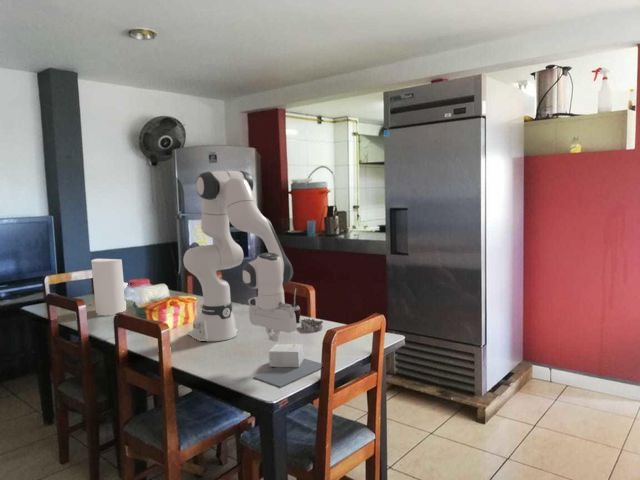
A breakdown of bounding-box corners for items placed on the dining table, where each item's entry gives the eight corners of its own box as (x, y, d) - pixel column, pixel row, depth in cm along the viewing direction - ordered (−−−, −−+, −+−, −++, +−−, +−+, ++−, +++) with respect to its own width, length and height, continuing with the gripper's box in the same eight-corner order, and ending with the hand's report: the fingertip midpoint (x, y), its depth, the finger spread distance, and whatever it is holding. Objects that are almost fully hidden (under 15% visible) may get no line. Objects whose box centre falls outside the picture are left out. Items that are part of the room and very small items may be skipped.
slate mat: (253, 377, 160) (253, 376, 160) (300, 358, 176) (300, 357, 176) (280, 387, 151) (280, 386, 151) (327, 366, 167) (327, 365, 167)
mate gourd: (288, 326, 217) (287, 293, 215) (282, 322, 224) (280, 290, 222) (304, 323, 220) (302, 291, 218) (297, 319, 227) (296, 287, 225)
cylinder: (112, 317, 246) (107, 262, 243) (88, 314, 253) (83, 261, 250) (139, 308, 261) (134, 256, 258) (115, 306, 269) (111, 256, 266)
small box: (269, 366, 168) (298, 367, 166) (268, 351, 167) (298, 351, 165) (275, 358, 176) (304, 359, 174) (275, 343, 175) (303, 344, 173)
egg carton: (324, 330, 209) (323, 321, 209) (307, 333, 206) (307, 324, 206) (315, 324, 219) (314, 315, 218) (299, 327, 216) (298, 317, 216)
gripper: (299, 302, 162) (301, 343, 163) (258, 295, 175) (261, 333, 177) (286, 306, 157) (288, 348, 159) (245, 299, 171) (247, 337, 172)
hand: (273, 340), depth 168 cm, fingers closed
